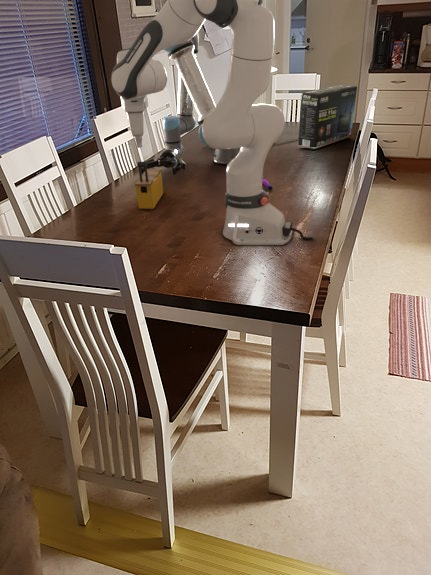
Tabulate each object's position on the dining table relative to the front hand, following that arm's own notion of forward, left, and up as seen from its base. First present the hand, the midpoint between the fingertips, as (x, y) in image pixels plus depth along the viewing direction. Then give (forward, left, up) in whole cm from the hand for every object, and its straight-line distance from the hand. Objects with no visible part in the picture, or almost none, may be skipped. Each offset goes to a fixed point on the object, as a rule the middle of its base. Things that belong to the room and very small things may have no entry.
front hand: (139, 144), depth 161 cm
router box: (-57, -105, -23) cm, 122 cm away
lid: (+1, -6, -14) cm, 16 cm away
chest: (+1, -7, -23) cm, 24 cm away
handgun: (-35, -34, -23) cm, 55 cm away
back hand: (+5, -24, -17) cm, 30 cm away
